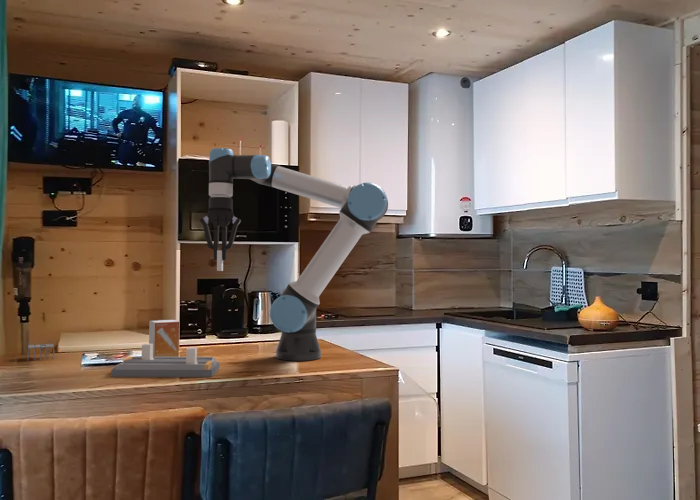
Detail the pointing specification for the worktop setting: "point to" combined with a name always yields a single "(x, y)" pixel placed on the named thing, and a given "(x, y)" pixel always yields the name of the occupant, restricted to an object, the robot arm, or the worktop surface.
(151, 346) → the tab
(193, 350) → the tab
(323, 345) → the worktop surface
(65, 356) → the worktop surface
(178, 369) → the switch board
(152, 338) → the small box
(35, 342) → the building frame
